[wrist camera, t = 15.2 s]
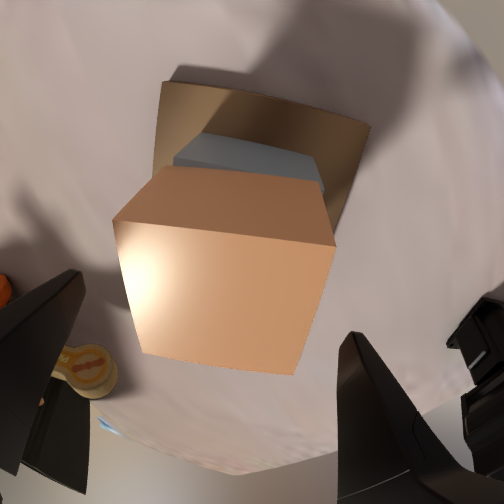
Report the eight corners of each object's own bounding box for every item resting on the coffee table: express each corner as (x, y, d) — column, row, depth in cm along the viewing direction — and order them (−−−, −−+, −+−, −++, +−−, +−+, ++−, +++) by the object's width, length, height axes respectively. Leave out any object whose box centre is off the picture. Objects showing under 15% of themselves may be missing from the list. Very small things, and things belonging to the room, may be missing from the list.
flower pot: (80, 354, 31) (30, 470, 17) (113, 415, 42) (87, 497, 28) (-12, 315, 31) (-63, 397, 17) (31, 381, 42) (0, 449, 28)
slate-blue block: (313, 156, 15) (324, 189, 11) (284, 249, 18) (284, 300, 15) (201, 132, 15) (173, 156, 11) (188, 228, 18) (165, 274, 14)
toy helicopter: (-13, 269, 25) (-75, 351, 14) (124, 292, 24) (54, 438, 12) (13, 318, 29) (-34, 397, 18) (146, 351, 28) (104, 473, 17)
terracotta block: (318, 181, 11) (336, 246, 7) (292, 297, 15) (293, 375, 11) (165, 165, 11) (112, 219, 8) (172, 281, 15) (142, 352, 11)
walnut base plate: (365, 123, 15) (371, 127, 14) (309, 277, 21) (310, 286, 20) (168, 80, 14) (162, 81, 13) (154, 243, 20) (150, 251, 20)
